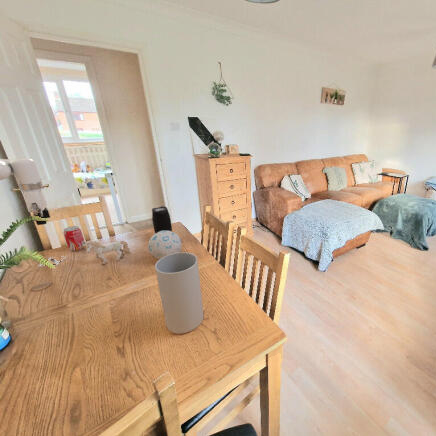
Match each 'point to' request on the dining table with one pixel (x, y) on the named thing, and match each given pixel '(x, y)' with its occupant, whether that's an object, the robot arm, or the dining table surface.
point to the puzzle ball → (164, 244)
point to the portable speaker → (161, 219)
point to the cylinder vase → (180, 291)
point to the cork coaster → (41, 286)
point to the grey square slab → (53, 261)
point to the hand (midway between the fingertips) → (44, 221)
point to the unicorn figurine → (106, 249)
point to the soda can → (74, 238)
